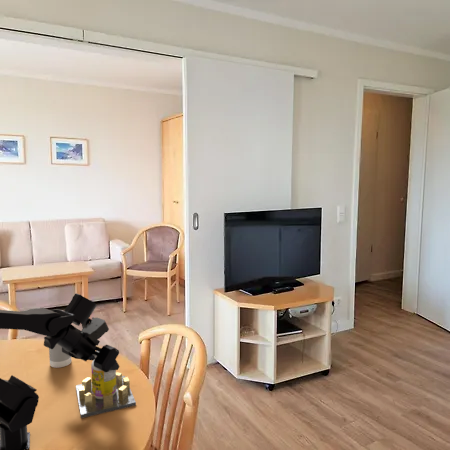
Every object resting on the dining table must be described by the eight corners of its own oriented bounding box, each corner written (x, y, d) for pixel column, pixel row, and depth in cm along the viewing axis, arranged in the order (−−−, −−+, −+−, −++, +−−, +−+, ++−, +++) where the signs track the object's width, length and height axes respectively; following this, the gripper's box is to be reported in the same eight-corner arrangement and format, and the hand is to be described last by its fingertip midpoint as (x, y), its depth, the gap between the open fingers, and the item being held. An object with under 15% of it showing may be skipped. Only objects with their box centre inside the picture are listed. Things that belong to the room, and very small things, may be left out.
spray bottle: (48, 369, 133) (45, 316, 131) (51, 359, 139) (48, 309, 137) (70, 366, 135) (68, 314, 132) (72, 357, 141) (70, 307, 139)
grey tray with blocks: (135, 405, 113) (135, 391, 112) (81, 418, 107) (80, 403, 106) (124, 378, 127) (124, 366, 127) (75, 388, 121) (75, 375, 121)
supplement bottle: (88, 393, 117) (86, 350, 115) (110, 385, 121) (108, 344, 120) (98, 403, 112) (96, 358, 110) (120, 394, 116) (119, 351, 115)
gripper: (112, 319, 105) (144, 346, 115) (69, 305, 116) (102, 330, 126) (87, 360, 100) (123, 383, 110) (44, 341, 110) (81, 364, 121)
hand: (107, 363), depth 117 cm, fingers open, 9 cm apart
